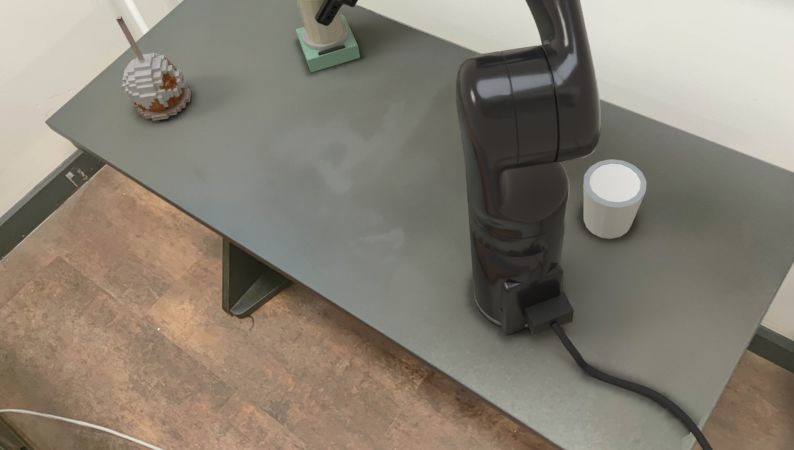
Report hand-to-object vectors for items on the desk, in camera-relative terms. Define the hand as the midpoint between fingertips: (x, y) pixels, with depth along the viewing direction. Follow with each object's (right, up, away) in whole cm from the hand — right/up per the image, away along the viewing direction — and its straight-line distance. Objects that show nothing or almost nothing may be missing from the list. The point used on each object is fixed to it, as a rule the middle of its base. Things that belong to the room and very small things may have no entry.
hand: (308, 7), depth 98 cm
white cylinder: (+38, -30, -15) cm, 51 cm away
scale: (+2, -4, +7) cm, 8 cm away
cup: (+2, -2, +5) cm, 5 cm away
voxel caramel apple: (-21, -13, +3) cm, 25 cm away
